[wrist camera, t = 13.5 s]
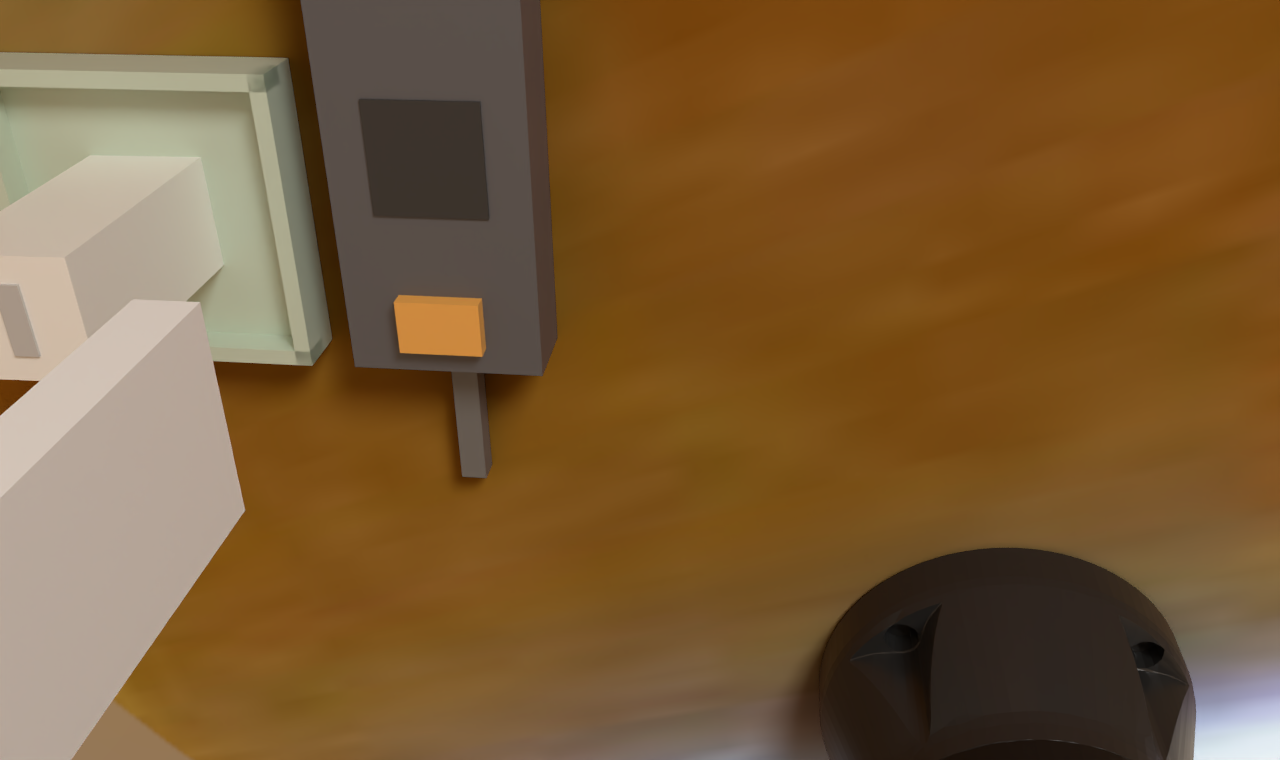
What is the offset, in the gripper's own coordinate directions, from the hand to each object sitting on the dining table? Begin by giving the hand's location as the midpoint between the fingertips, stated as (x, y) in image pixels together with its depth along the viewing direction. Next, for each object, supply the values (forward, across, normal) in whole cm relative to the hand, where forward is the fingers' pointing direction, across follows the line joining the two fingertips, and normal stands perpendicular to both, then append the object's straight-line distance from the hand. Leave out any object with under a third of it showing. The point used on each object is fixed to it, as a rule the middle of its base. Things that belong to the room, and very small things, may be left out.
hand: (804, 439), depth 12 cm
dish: (+29, +23, +9) cm, 38 cm away
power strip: (+29, +12, +5) cm, 32 cm away
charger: (+28, +23, +9) cm, 37 cm away
